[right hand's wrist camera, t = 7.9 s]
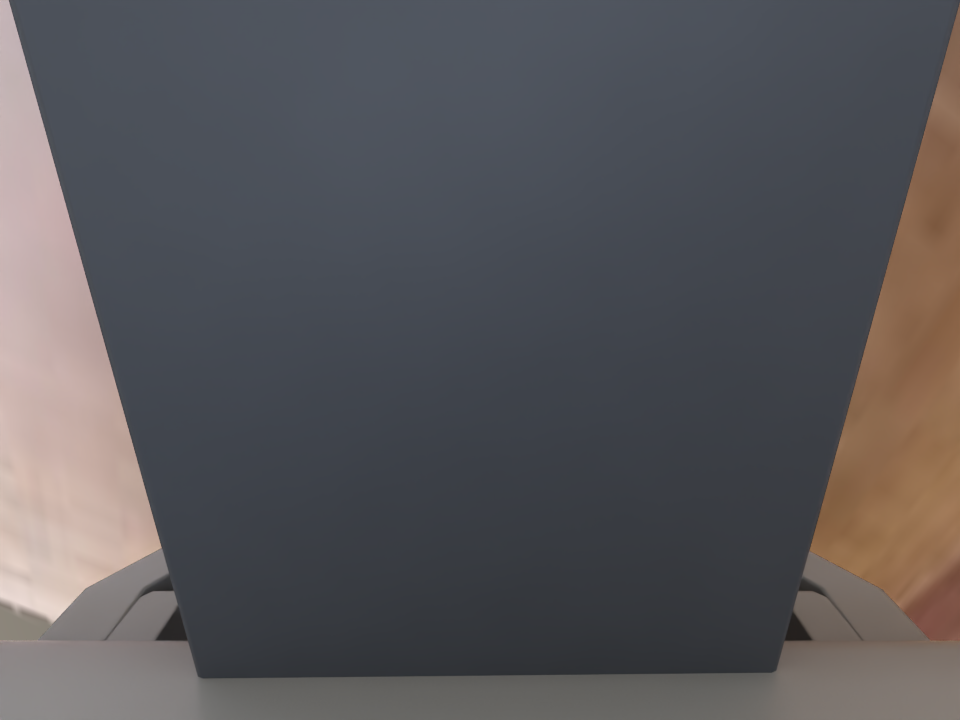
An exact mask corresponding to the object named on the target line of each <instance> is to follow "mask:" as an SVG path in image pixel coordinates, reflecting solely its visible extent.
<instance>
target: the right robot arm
mask: <svg viewBox="0 0 960 720" xmlns="http://www.w3.org/2000/svg"><path fill="white" fill-rule="evenodd" d="M0 720H960V641H930V639H929V638H928V637H927V636H926V635H925V634H924V633H923V632H922V631H921V630H920V629H919V628H918V627H917V626H916V625H915V624H914V623H913V622H912V620H911V619H910V618H909V617H908V616H907V615H906V614H905V613H904V612H903V611H902V610H901V609H900V608H899V607H898V606H897V605H896V604H895V602H894V601H893V600H892V599H891V598H890V597H889V596H888V595H887V594H886V593H885V592H884V591H883V590H882V589H880V588H879V587H877V586H875V585H873V584H871V583H869V582H867V581H865V580H863V579H862V578H860V577H858V576H856V575H854V574H852V573H850V572H848V571H846V570H844V569H843V568H841V567H839V566H837V565H835V564H833V563H831V562H829V561H827V560H826V559H824V558H822V557H820V556H818V555H816V554H814V553H812V552H810V551H809V553H808V557H807V561H806V564H805V568H804V572H803V575H802V579H801V582H800V586H799V590H798V593H797V597H796V601H795V604H794V608H793V612H792V615H791V619H790V623H789V626H788V630H787V634H786V637H785V641H784V644H783V648H782V652H781V655H780V659H779V663H778V666H777V670H776V671H774V672H772V673H697V674H599V675H500V676H402V677H303V678H205V679H203V678H200V677H198V675H197V672H196V668H195V665H194V661H193V657H192V654H191V650H190V647H189V643H188V639H187V636H186V632H185V629H184V625H183V622H182V618H181V614H180V611H179V607H178V604H177V600H176V596H175V593H174V589H173V586H172V582H171V579H170V575H169V571H168V568H167V564H166V561H165V557H164V554H163V550H162V548H161V549H159V550H157V551H155V552H154V553H152V554H150V555H148V556H146V557H144V558H142V559H140V560H139V561H137V562H135V563H133V564H131V565H129V566H127V567H125V568H124V569H122V570H120V571H118V572H116V573H114V574H112V575H110V576H108V577H107V578H105V579H103V580H101V581H99V582H97V583H95V584H93V585H92V586H90V587H88V588H86V589H85V590H84V591H83V592H82V593H81V594H80V595H79V596H78V597H77V598H76V600H75V601H74V602H73V603H72V604H71V605H70V606H69V607H68V608H67V609H66V610H65V611H64V612H63V613H62V614H61V616H60V617H59V618H58V619H57V620H56V621H55V622H54V623H53V624H52V625H51V626H50V627H49V628H48V629H47V631H46V632H45V633H44V634H43V635H42V636H41V637H40V638H39V639H38V640H37V641H0Z"/></svg>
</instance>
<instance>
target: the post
mask: <svg viewBox="0 0 960 720" xmlns="http://www.w3.org/2000/svg"><path fill="white" fill-rule="evenodd" d="M9 2H10V6H11V9H12V13H13V16H14V20H15V24H16V27H17V31H18V34H19V38H20V41H21V45H22V49H23V52H24V56H25V59H26V63H27V67H28V70H29V74H30V77H31V81H32V84H33V88H34V92H35V95H36V99H37V102H38V106H39V110H40V113H41V117H42V120H43V124H44V127H45V131H46V135H47V138H48V142H49V145H50V149H51V152H52V156H53V160H54V163H55V167H56V170H57V174H58V178H59V181H60V185H61V188H62V192H63V195H64V199H65V203H66V206H67V210H68V213H69V217H70V221H71V224H72V228H73V231H74V235H75V238H76V242H77V246H78V249H79V253H80V256H81V260H82V263H83V267H84V271H85V274H86V278H87V281H88V285H89V289H90V292H91V296H92V299H93V303H94V306H95V310H96V314H97V317H98V321H99V324H100V328H101V332H102V335H103V339H104V342H105V346H106V349H107V353H108V357H109V360H110V364H111V367H112V371H113V374H114V378H115V382H116V385H117V389H118V392H119V396H120V400H121V403H122V407H123V410H124V414H125V417H126V421H127V425H128V428H129V432H130V435H131V439H132V443H133V446H134V450H135V453H136V457H137V460H138V464H139V468H140V471H141V475H142V478H143V482H144V485H145V489H146V493H147V496H148V500H149V503H150V507H151V511H152V514H153V518H154V521H155V525H156V528H157V532H158V536H159V539H160V543H161V546H162V550H163V554H164V557H165V561H166V564H167V568H168V571H169V575H170V579H171V582H172V586H173V589H174V593H175V596H176V600H177V604H178V607H179V611H180V614H181V618H182V622H183V625H184V629H185V632H186V636H187V639H188V643H189V647H190V650H191V654H192V657H193V661H194V665H195V668H196V672H197V675H198V677H200V678H203V679H205V678H303V677H402V676H500V675H599V674H697V673H772V672H774V671H776V670H777V666H778V663H779V659H780V655H781V652H782V648H783V644H784V641H785V637H786V634H787V630H788V626H789V623H790V619H791V615H792V612H793V608H794V604H795V601H796V597H797V593H798V590H799V586H800V582H801V579H802V575H803V572H804V568H805V564H806V561H807V557H808V553H809V550H810V546H811V542H812V539H813V535H814V531H815V528H816V524H817V521H818V517H819V513H820V510H821V506H822V502H823V499H824V495H825V491H826V488H827V484H828V480H829V477H830V473H831V469H832V466H833V462H834V459H835V455H836V451H837V448H838V444H839V440H840V437H841V433H842V429H843V426H844V422H845V418H846V415H847V411H848V408H849V404H850V400H851V397H852V393H853V389H854V386H855V382H856V378H857V375H858V371H859V367H860V364H861V360H862V356H863V353H864V349H865V346H866V342H867V338H868V335H869V331H870V327H871V324H872V320H873V316H874V313H875V309H876V305H877V302H878V298H879V295H880V291H881V287H882V284H883V280H884V276H885V273H886V269H887V265H888V262H889V258H890V254H891V251H892V247H893V243H894V240H895V236H896V233H897V229H898V225H899V222H900V218H901V214H902V211H903V207H904V203H905V200H906V196H907V192H908V189H909V185H910V182H911V178H912V174H913V171H914V167H915V163H916V160H917V156H918V152H919V149H920V145H921V141H922V138H923V134H924V130H925V127H926V123H927V120H928V116H929V112H930V109H931V105H932V101H933V98H934V94H935V90H936V87H937V83H938V79H939V76H940V72H941V69H942V65H943V61H944V58H945V54H946V50H947V47H948V43H949V39H950V36H951V32H952V28H953V25H954V21H955V17H956V14H957V10H958V7H959V3H960V0H9Z"/></svg>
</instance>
